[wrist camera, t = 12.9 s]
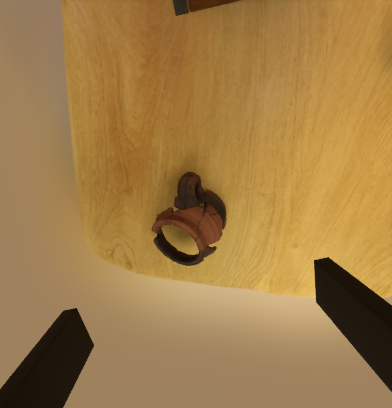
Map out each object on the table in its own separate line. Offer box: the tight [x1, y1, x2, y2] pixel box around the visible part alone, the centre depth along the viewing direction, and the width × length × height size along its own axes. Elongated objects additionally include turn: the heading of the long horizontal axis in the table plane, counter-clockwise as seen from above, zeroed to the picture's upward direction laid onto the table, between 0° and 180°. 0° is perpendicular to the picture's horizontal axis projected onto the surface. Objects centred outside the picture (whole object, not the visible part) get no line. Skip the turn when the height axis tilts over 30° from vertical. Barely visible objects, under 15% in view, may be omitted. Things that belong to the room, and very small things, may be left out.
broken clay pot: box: [152, 172, 226, 266], centre depth 25 cm, size 12×9×8 cm
